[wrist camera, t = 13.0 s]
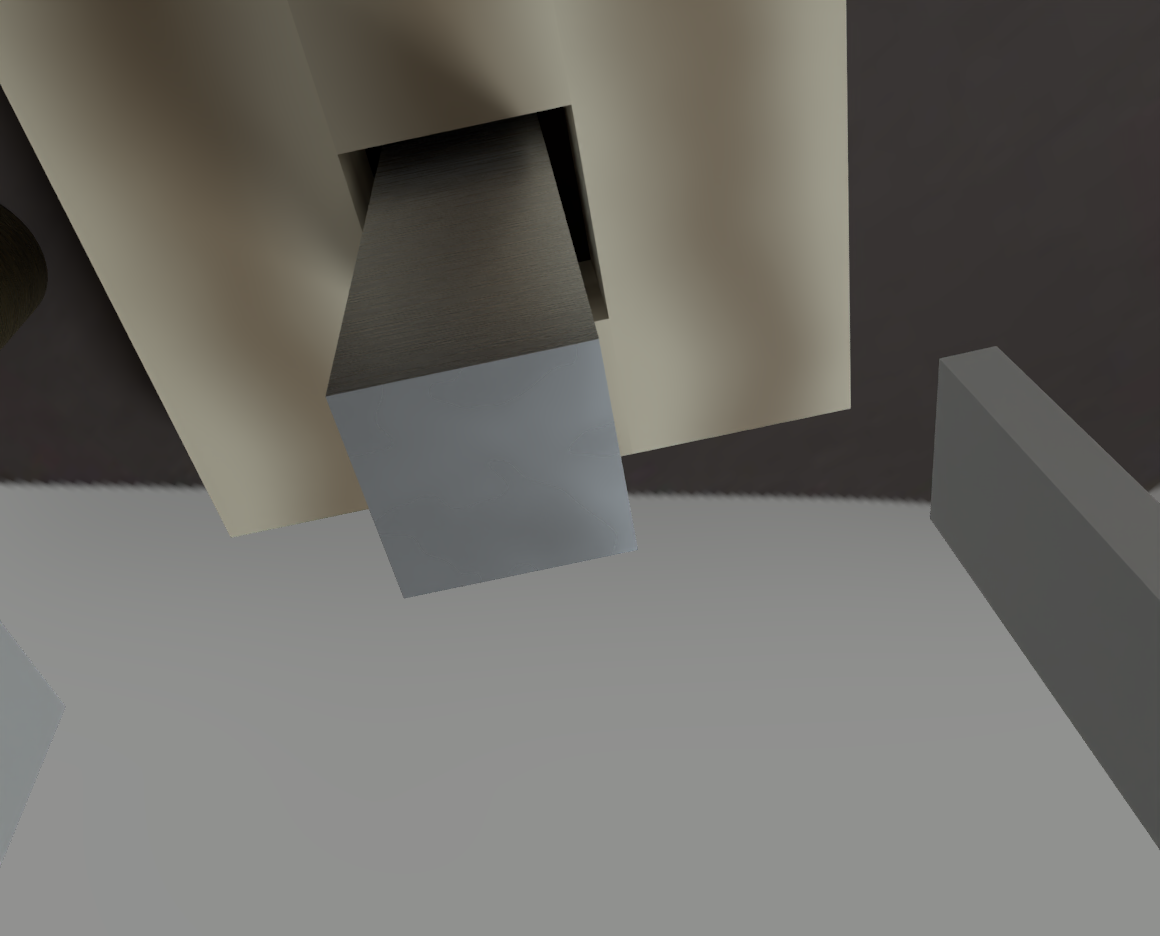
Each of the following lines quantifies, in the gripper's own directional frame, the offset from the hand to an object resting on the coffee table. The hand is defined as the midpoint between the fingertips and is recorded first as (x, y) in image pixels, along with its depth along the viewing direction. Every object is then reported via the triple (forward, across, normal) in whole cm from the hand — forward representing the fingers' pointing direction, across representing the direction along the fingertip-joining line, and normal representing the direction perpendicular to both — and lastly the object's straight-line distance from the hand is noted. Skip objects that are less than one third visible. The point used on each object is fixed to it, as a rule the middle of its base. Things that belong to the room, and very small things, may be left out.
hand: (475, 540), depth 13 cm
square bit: (+16, 0, 0) cm, 16 cm away
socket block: (+16, 0, 0) cm, 16 cm away
